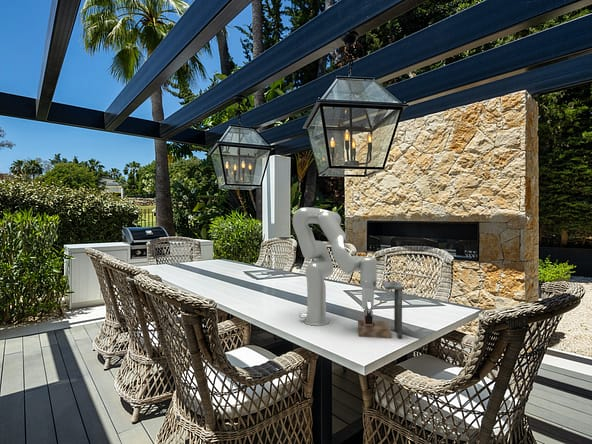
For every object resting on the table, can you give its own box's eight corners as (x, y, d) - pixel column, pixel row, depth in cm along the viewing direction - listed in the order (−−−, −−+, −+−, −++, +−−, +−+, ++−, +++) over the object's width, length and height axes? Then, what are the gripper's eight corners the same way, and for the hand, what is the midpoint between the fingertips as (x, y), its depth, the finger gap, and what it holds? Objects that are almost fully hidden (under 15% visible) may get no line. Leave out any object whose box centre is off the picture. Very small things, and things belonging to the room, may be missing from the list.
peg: (363, 333, 154) (363, 312, 154) (363, 330, 158) (363, 310, 158) (372, 334, 153) (372, 312, 153) (372, 331, 157) (372, 310, 157)
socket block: (358, 336, 150) (358, 285, 150) (358, 327, 162) (358, 281, 162) (403, 339, 147) (403, 287, 147) (399, 330, 159) (399, 282, 159)
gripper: (359, 280, 164) (359, 315, 164) (360, 287, 147) (360, 326, 147) (375, 280, 163) (374, 316, 163) (378, 287, 146) (378, 327, 146)
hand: (368, 320), depth 155 cm, fingers open, 8 cm apart
